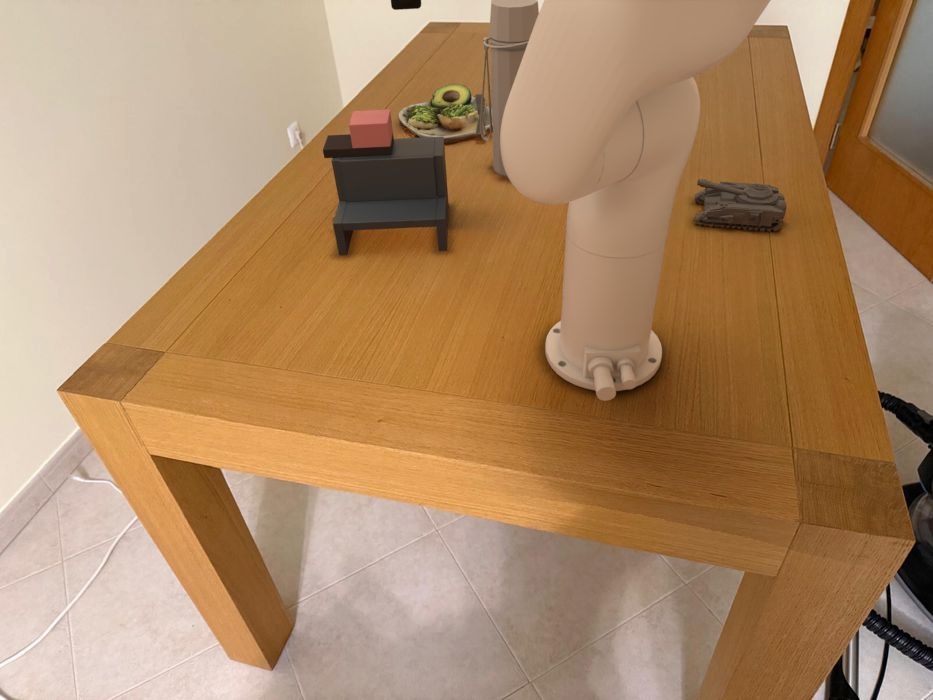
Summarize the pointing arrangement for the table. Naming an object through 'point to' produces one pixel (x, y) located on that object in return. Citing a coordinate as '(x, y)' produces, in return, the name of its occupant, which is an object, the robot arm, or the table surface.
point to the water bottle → (505, 60)
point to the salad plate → (447, 115)
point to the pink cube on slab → (363, 136)
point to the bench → (393, 190)
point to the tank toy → (740, 205)
